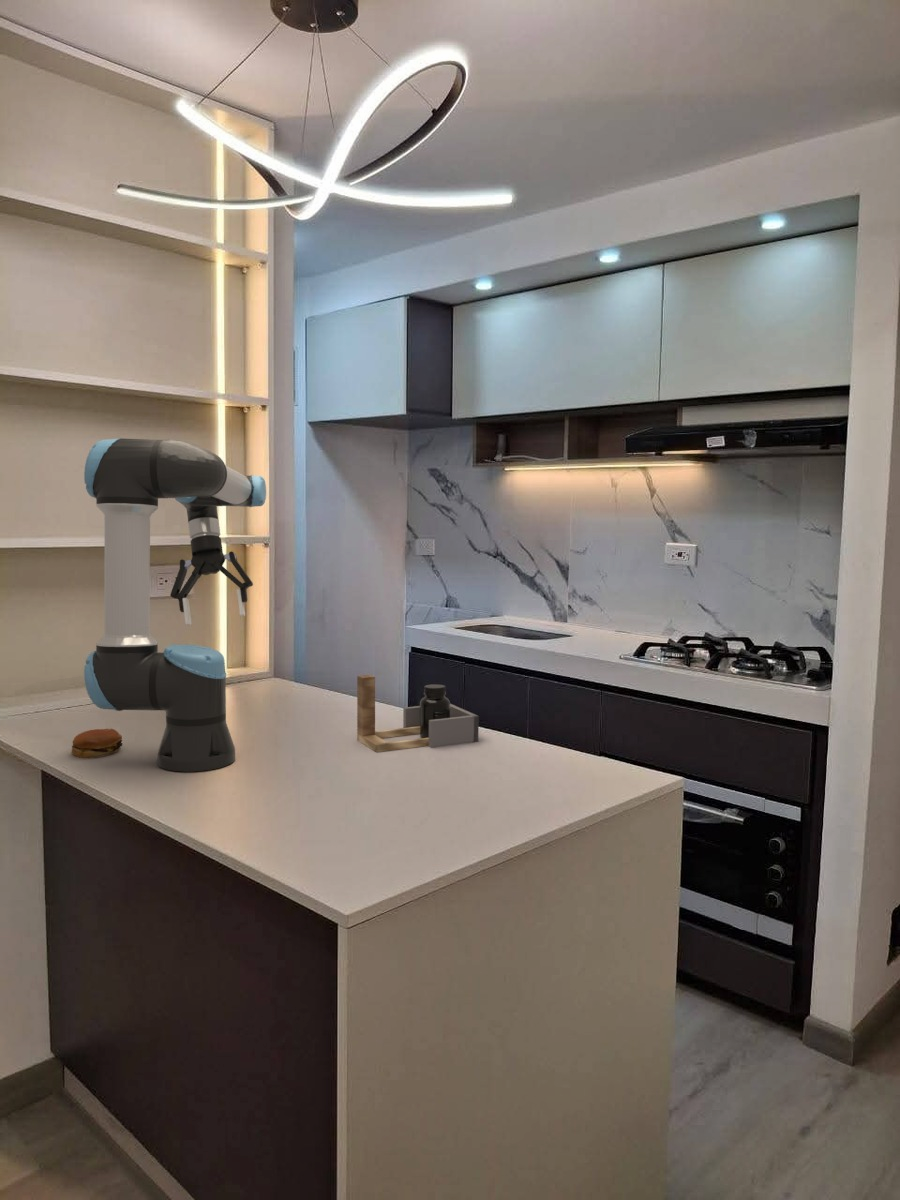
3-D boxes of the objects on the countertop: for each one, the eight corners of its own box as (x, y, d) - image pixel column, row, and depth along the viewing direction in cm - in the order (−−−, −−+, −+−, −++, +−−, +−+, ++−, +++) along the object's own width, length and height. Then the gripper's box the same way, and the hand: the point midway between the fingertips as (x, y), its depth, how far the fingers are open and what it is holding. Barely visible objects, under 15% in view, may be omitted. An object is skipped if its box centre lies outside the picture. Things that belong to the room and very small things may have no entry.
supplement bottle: (451, 735, 203) (452, 683, 202) (448, 743, 196) (449, 689, 195) (421, 734, 203) (422, 682, 202) (417, 741, 197) (418, 688, 195)
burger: (65, 759, 181) (64, 736, 180) (82, 747, 190) (81, 725, 190) (114, 759, 181) (114, 737, 181) (128, 747, 191) (128, 726, 190)
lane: (448, 727, 209) (448, 702, 209) (478, 742, 197) (478, 715, 196) (403, 733, 204) (403, 707, 203) (431, 748, 191) (431, 721, 191)
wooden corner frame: (443, 729, 207) (444, 668, 205) (465, 740, 197) (466, 676, 196) (357, 739, 197) (357, 675, 195) (376, 752, 187) (376, 684, 186)
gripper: (257, 533, 228) (268, 614, 225) (161, 549, 228) (170, 630, 224) (250, 526, 221) (261, 609, 217) (151, 542, 220) (161, 626, 217)
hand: (215, 620), depth 221 cm, fingers open, 13 cm apart
